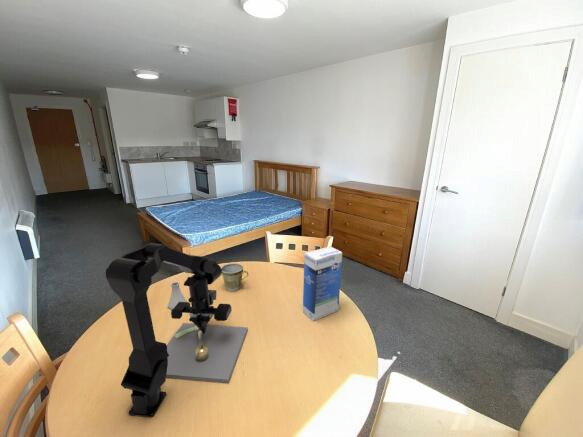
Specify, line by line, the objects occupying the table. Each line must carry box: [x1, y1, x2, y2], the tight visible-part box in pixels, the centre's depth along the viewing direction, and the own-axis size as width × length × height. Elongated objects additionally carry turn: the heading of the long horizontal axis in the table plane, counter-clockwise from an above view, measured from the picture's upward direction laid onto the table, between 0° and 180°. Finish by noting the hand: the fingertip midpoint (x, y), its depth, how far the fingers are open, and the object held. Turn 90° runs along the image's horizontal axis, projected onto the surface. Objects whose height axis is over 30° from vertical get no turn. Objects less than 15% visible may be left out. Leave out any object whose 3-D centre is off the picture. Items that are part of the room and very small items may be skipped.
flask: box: [167, 281, 188, 311], centre depth 108 cm, size 7×7×10 cm
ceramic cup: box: [221, 262, 249, 292], centre depth 122 cm, size 13×10×10 cm
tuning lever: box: [195, 325, 208, 361], centre depth 86 cm, size 15×4×3 cm, turn 22°
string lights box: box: [302, 246, 343, 322], centre depth 103 cm, size 13×8×26 cm, turn 122°
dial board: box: [166, 322, 249, 384], centre depth 85 cm, size 22×24×1 cm
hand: (204, 332), depth 90 cm, fingers closed
